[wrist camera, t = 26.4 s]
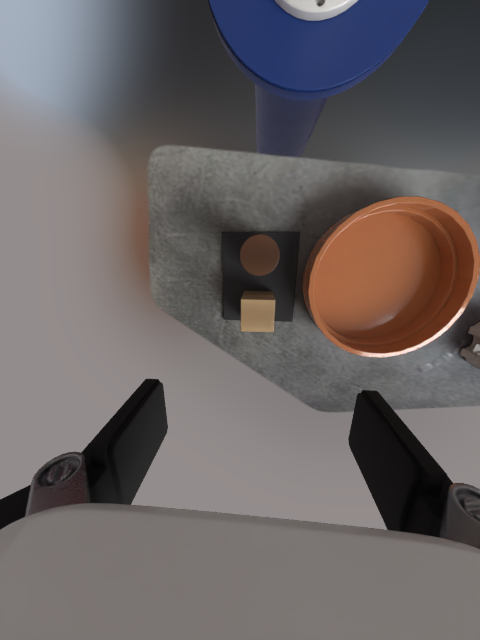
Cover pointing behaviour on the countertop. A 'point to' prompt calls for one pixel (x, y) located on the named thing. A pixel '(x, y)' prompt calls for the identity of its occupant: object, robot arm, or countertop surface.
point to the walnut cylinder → (259, 255)
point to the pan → (391, 276)
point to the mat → (275, 281)
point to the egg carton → (473, 347)
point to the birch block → (257, 311)
